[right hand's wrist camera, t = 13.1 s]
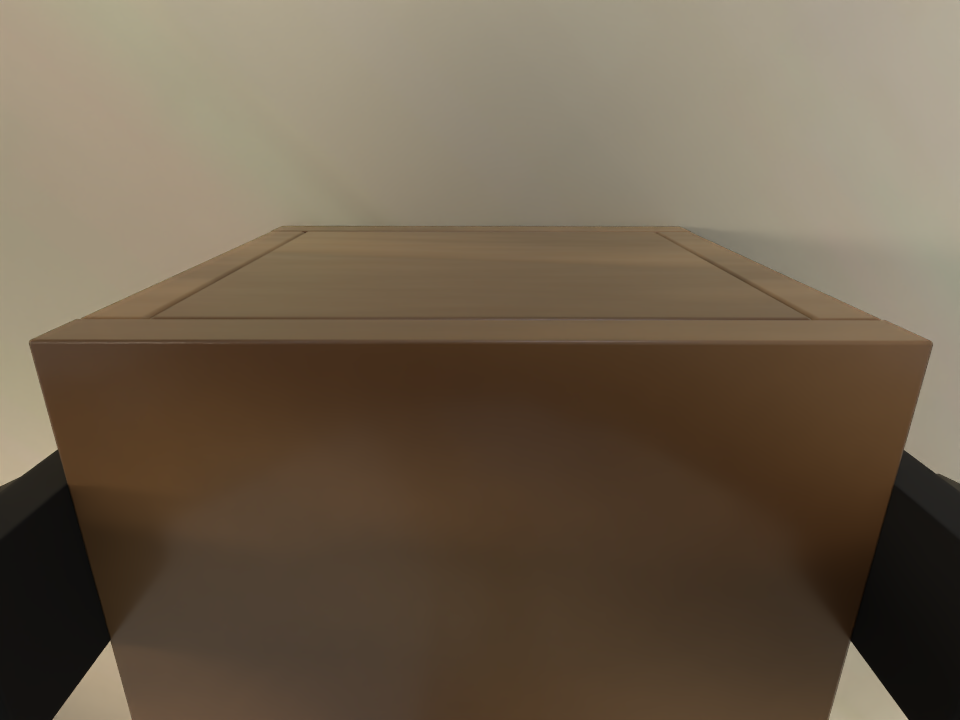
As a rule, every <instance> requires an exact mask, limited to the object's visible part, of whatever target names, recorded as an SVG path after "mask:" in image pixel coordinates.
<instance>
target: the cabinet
mask: <svg viewBox="0 0 960 720" xmlns="http://www.w3.org/2000/svg"><path fill="white" fill-rule="evenodd" d="M29 345H30V349H31V353H32V356H33V360H34V364H35V367H36V371H37V375H38V378H39V382H40V385H41V389H42V393H43V396H44V400H45V404H46V407H47V411H48V415H49V418H50V422H51V426H52V429H53V433H54V436H55V440H56V444H57V447H58V451H59V455H60V458H61V462H62V466H63V469H64V473H65V477H66V480H67V484H68V487H69V491H70V495H71V498H72V502H73V506H74V509H75V513H76V517H77V520H78V524H79V527H80V531H81V535H82V538H83V542H84V546H85V549H86V553H87V557H88V560H89V564H90V567H91V571H92V575H93V578H94V582H95V586H96V589H97V593H98V596H99V600H100V604H101V607H102V611H103V615H104V618H105V622H106V625H107V629H108V633H109V636H110V640H111V644H112V648H113V651H114V655H115V659H116V662H117V666H118V670H119V673H120V677H121V680H122V684H123V688H124V691H125V695H126V699H127V702H128V706H129V710H130V713H131V717H132V720H829V716H830V713H831V709H832V705H833V702H834V698H835V695H836V691H837V688H838V684H839V680H840V677H841V673H842V670H843V666H844V662H845V659H846V655H847V652H848V648H849V644H850V641H851V637H852V634H853V630H854V626H855V623H856V619H857V616H858V612H859V609H860V605H861V601H862V598H863V594H864V591H865V587H866V583H867V580H868V576H869V573H870V569H871V565H872V562H873V558H874V555H875V551H876V547H877V544H878V540H879V537H880V533H881V530H882V526H883V522H884V519H885V515H886V512H887V508H888V504H889V501H890V497H891V494H892V490H893V486H894V483H895V479H896V476H897V472H898V468H899V465H900V461H901V458H902V454H903V451H904V447H905V443H906V440H907V436H908V433H909V429H910V425H911V422H912V418H913V415H914V411H915V407H916V404H917V400H918V397H919V393H920V389H921V386H922V382H923V379H924V375H925V372H926V368H927V364H928V361H929V357H930V354H931V350H932V346H933V343H932V341H930V340H927V339H925V338H923V337H921V336H919V335H916V334H914V333H912V332H910V331H908V330H905V329H903V328H901V327H899V326H897V325H894V324H892V323H890V322H888V321H886V320H881V319H879V318H877V317H874V316H872V315H870V314H868V313H866V312H864V311H861V310H859V309H857V308H855V307H853V306H850V305H848V304H846V303H844V302H842V301H840V300H837V299H835V298H833V297H831V296H829V295H826V294H824V293H822V292H820V291H818V290H816V289H813V288H811V287H809V286H807V285H805V284H802V283H800V282H798V281H796V280H794V279H792V278H789V277H787V276H785V275H783V274H781V273H778V272H776V271H774V270H772V269H770V268H768V267H765V266H763V265H761V264H759V263H757V262H754V261H752V260H750V259H748V258H746V257H744V256H741V255H739V254H737V253H735V252H733V251H730V250H728V249H726V248H724V247H722V246H720V245H717V244H715V243H713V242H711V241H709V240H706V239H704V238H702V237H700V236H698V235H696V234H693V233H691V232H690V231H688V230H686V229H684V228H681V227H585V226H281V227H279V228H277V229H275V230H273V231H271V232H270V233H267V234H265V235H263V236H261V237H259V238H256V239H254V240H252V241H250V242H248V243H245V244H243V245H241V246H239V247H237V248H234V249H232V250H230V251H228V252H226V253H223V254H221V255H219V256H217V257H215V258H212V259H210V260H208V261H206V262H204V263H201V264H199V265H197V266H195V267H193V268H190V269H188V270H186V271H184V272H182V273H180V274H177V275H175V276H173V277H171V278H169V279H166V280H164V281H162V282H160V283H158V284H155V285H153V286H151V287H149V288H147V289H144V290H142V291H140V292H138V293H136V294H133V295H131V296H129V297H127V298H125V299H122V300H120V301H118V302H116V303H114V304H111V305H109V306H107V307H105V308H103V309H100V310H98V311H96V312H94V313H92V314H89V315H87V316H85V317H83V318H81V319H76V320H73V321H71V322H69V323H67V324H64V325H62V326H60V327H58V328H56V329H53V330H51V331H49V332H47V333H44V334H42V335H40V336H38V337H36V338H33V339H31V340H30V341H29Z"/></svg>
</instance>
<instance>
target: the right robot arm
mask: <svg viewBox="0 0 960 720" xmlns="http://www.w3.org/2000/svg"><path fill="white" fill-rule="evenodd" d="M109 641H110V636H109V633H108V629H107V625H106V622H105V618H104V615H103V611H102V607H101V604H100V600H99V596H98V593H97V589H96V586H95V582H94V578H93V575H92V571H91V567H90V564H89V560H88V557H87V553H86V549H85V546H84V542H83V538H82V535H81V531H80V527H79V524H78V520H77V517H76V513H75V509H74V506H73V502H72V498H71V495H70V491H69V487H68V484H67V480H66V477H65V473H64V469H63V466H62V462H61V458H60V455H59V451H58V450H56V451H55V452H54V453H52V454H51V455H50V456H48V457H47V458H46V459H44V460H43V461H42V462H40V463H39V464H37V465H36V466H35V467H33V468H32V469H31V470H29V471H28V472H27V473H25V474H24V475H23V476H21V477H19V478H17V479H15V480H13V481H11V482H9V483H7V484H5V485H2V486H0V720H52V719H53V718H54V716H55V715H56V714H57V712H58V711H59V710H60V708H61V707H62V705H63V704H64V703H65V701H66V700H67V699H68V697H69V696H70V695H71V693H72V692H73V690H74V689H75V688H76V686H77V685H78V684H79V682H80V681H81V680H82V678H83V677H84V675H85V674H86V673H87V671H88V670H89V669H90V667H91V666H92V665H93V663H94V662H95V660H96V659H97V658H98V656H99V655H100V654H101V652H102V651H103V650H104V648H105V647H106V645H107V644H108V643H109ZM851 642H852V643H853V644H854V646H855V647H856V649H857V650H858V651H859V653H860V654H861V655H862V657H863V658H864V659H865V661H866V662H867V664H868V665H869V666H870V668H871V669H872V670H873V672H874V673H875V674H876V676H877V677H878V679H879V680H880V681H881V683H882V684H883V685H884V687H885V688H886V689H887V691H888V692H889V694H890V695H891V696H892V698H893V699H894V700H895V702H896V703H897V704H898V706H899V707H900V709H901V710H902V711H903V713H904V714H905V715H906V717H907V718H908V719H909V720H960V484H959V483H957V482H955V481H953V480H951V479H949V478H947V477H945V476H943V475H940V474H935V473H934V472H933V471H931V470H930V469H929V468H927V467H926V466H925V465H923V464H922V463H921V462H919V461H918V460H917V459H915V458H914V457H913V456H911V455H910V454H908V453H907V452H906V451H903V454H902V458H901V461H900V465H899V468H898V472H897V476H896V479H895V483H894V486H893V490H892V494H891V497H890V501H889V504H888V508H887V512H886V515H885V519H884V522H883V526H882V530H881V533H880V537H879V540H878V544H877V547H876V551H875V555H874V558H873V562H872V565H871V569H870V573H869V576H868V580H867V583H866V587H865V591H864V594H863V598H862V601H861V605H860V609H859V612H858V616H857V619H856V623H855V626H854V630H853V634H852V637H851Z"/></svg>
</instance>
